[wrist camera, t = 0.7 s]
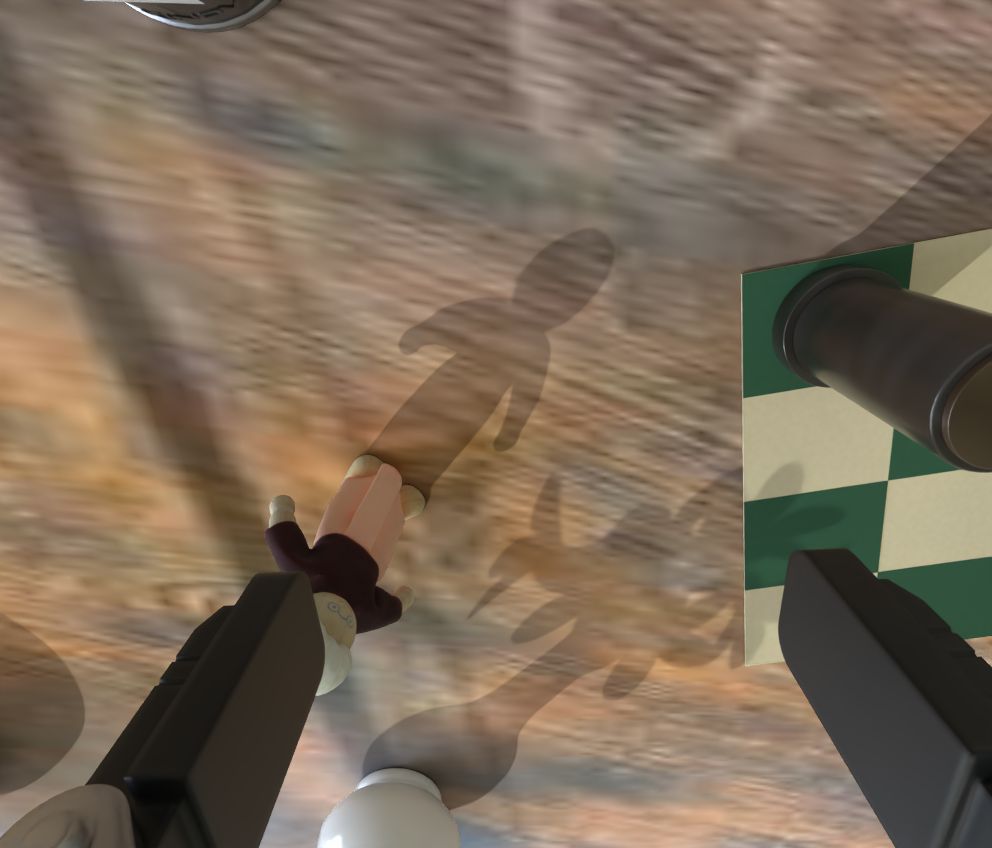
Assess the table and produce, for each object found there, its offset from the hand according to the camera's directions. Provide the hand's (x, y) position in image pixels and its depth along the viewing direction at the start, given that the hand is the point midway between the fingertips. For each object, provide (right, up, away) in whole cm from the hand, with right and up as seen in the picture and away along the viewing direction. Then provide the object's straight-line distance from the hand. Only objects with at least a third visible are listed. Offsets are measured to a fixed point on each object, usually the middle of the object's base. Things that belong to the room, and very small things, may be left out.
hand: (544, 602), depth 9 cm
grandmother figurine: (-7, 0, +20) cm, 22 cm away
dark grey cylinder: (+15, +8, +16) cm, 23 cm away
